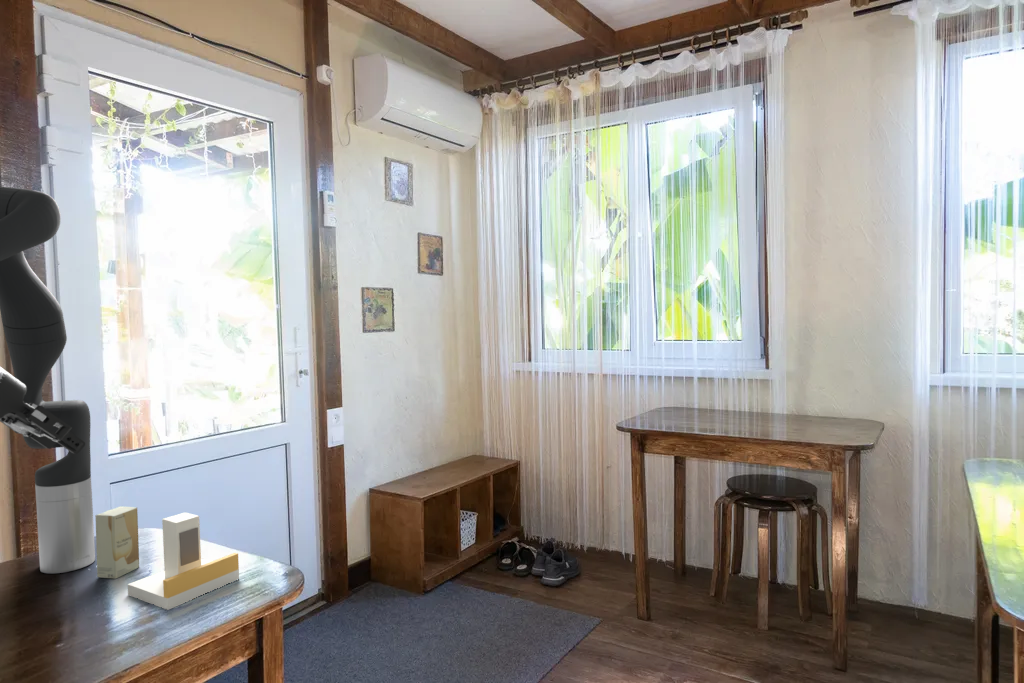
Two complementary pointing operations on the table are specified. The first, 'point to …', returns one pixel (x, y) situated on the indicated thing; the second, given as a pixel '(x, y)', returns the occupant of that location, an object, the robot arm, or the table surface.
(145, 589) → the shelf board
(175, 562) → the product carton
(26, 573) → the table surface
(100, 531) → the skincare box
